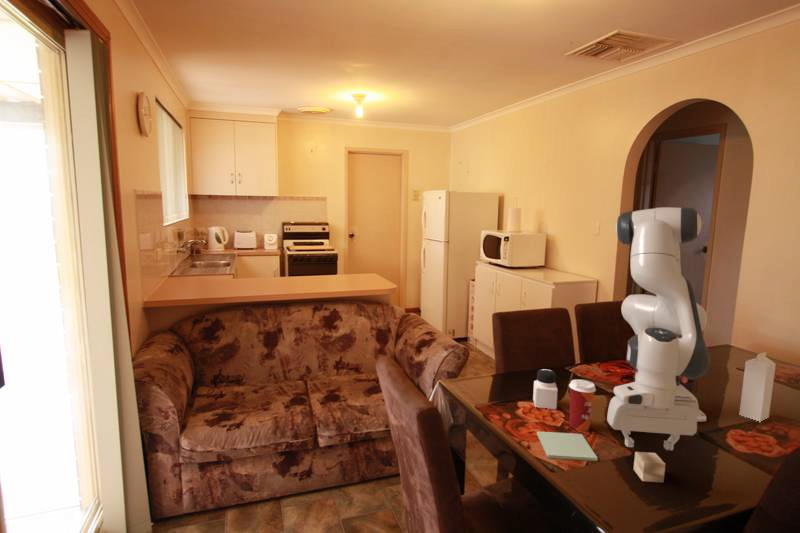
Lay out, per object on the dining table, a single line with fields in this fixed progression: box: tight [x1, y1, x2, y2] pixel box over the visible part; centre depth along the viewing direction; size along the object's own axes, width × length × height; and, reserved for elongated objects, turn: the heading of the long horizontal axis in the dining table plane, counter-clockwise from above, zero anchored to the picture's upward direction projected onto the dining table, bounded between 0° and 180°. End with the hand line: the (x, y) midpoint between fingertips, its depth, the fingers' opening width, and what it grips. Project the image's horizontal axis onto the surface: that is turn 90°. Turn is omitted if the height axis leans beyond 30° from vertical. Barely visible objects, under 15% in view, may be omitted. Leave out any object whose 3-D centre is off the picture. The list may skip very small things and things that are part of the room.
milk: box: [738, 351, 777, 423], centre depth 145 cm, size 6×6×22 cm
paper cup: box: [568, 378, 597, 432], centre depth 136 cm, size 8×8×14 cm
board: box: [536, 431, 599, 462], centre depth 124 cm, size 13×13×1 cm
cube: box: [633, 451, 666, 484], centre depth 111 cm, size 5×5×5 cm
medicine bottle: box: [532, 368, 559, 410], centre depth 151 cm, size 7×7×12 cm
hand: (648, 447), depth 110 cm, fingers open, 8 cm apart
